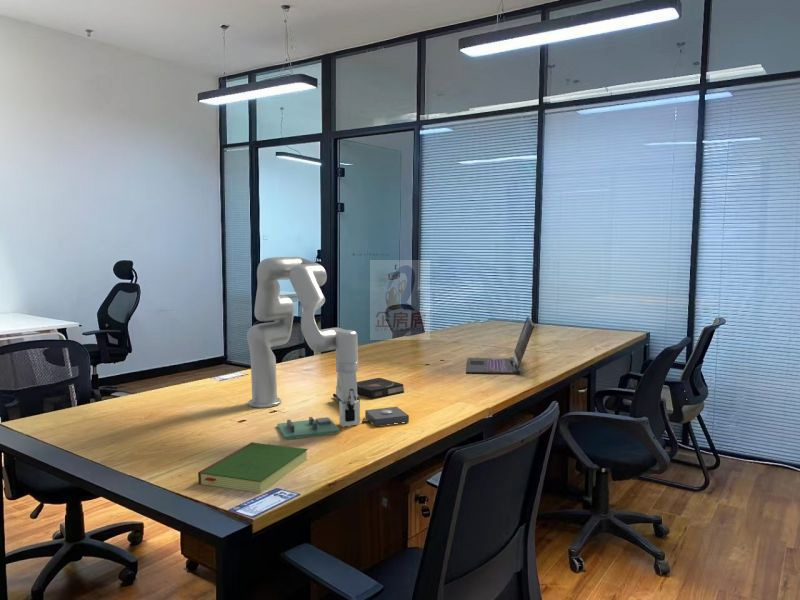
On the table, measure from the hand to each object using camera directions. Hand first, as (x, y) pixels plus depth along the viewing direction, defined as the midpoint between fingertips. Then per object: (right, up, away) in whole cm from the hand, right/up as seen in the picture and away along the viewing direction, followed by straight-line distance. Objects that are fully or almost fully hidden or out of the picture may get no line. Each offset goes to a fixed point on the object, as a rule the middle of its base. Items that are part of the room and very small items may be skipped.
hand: (348, 418), depth 200 cm
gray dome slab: (+12, -2, +4) cm, 13 cm away
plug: (0, -2, 0) cm, 2 cm away
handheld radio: (-4, 0, +26) cm, 26 cm away
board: (-13, -3, -5) cm, 14 cm away
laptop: (+68, +6, +93) cm, 115 cm away
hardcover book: (-22, -7, -41) cm, 47 cm away
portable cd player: (+8, +1, +45) cm, 45 cm away
